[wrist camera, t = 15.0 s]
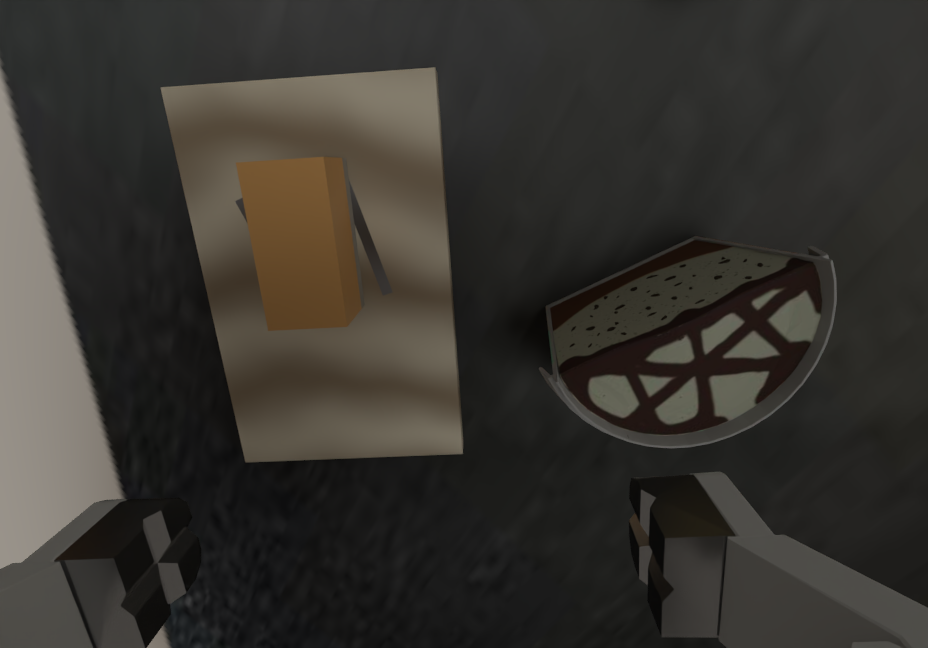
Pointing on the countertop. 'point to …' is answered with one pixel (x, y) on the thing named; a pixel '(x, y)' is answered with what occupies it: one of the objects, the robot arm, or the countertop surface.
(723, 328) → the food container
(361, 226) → the birch board
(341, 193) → the block
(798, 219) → the countertop surface
